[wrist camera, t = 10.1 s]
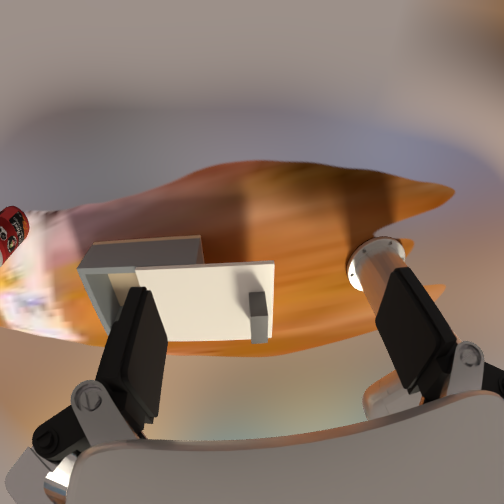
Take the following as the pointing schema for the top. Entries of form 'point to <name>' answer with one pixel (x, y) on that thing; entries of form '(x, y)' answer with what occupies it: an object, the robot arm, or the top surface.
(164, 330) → the robot arm
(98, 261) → the grey box
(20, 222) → the canned food
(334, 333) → the top surface
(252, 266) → the sliding lid
